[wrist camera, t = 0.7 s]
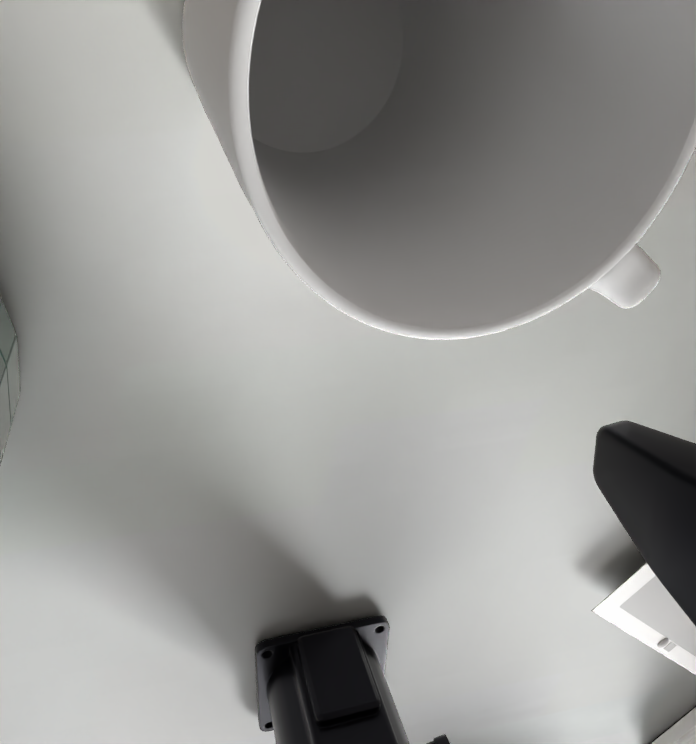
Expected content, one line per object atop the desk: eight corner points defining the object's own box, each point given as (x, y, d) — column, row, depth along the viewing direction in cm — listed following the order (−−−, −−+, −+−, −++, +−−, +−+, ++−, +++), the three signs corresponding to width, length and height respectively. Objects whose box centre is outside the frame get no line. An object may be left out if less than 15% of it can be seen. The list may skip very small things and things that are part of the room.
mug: (119, 56, 17) (105, 146, 7) (274, -180, 16) (527, -478, 6) (382, 265, 22) (584, 485, 12) (516, 103, 21) (870, 205, 11)
